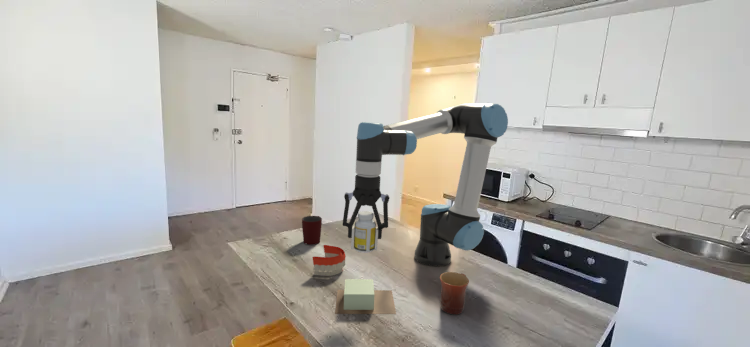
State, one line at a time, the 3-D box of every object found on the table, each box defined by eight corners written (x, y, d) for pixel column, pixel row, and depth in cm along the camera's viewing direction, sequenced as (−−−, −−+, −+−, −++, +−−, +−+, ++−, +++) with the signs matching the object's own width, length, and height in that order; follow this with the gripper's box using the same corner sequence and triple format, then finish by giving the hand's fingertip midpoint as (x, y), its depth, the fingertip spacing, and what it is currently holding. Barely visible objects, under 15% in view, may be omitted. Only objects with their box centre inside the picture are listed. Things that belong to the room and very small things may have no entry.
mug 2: (458, 321, 96) (461, 289, 94) (432, 309, 101) (434, 279, 99) (475, 304, 105) (478, 274, 103) (450, 294, 110) (452, 265, 109)
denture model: (339, 282, 116) (339, 261, 114) (311, 278, 117) (311, 257, 116) (349, 266, 128) (349, 247, 126) (323, 263, 130) (324, 244, 128)
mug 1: (311, 234, 159) (311, 213, 157) (327, 237, 157) (328, 215, 155) (298, 243, 148) (298, 220, 146) (316, 246, 145) (316, 223, 143)
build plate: (391, 293, 110) (391, 290, 109) (396, 317, 97) (396, 313, 97) (337, 293, 108) (337, 290, 108) (334, 317, 96) (334, 313, 96)
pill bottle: (374, 245, 105) (376, 210, 103) (374, 254, 98) (377, 216, 96) (354, 244, 105) (355, 209, 103) (353, 253, 98) (354, 215, 96)
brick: (372, 293, 107) (373, 279, 106) (373, 309, 98) (374, 294, 97) (344, 293, 106) (345, 279, 106) (343, 309, 98) (344, 294, 97)
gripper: (399, 174, 102) (394, 244, 106) (336, 171, 101) (333, 242, 105) (401, 178, 94) (396, 254, 98) (334, 175, 93) (331, 251, 97)
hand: (364, 247), depth 101 cm, fingers closed on pill bottle, 6 cm apart
